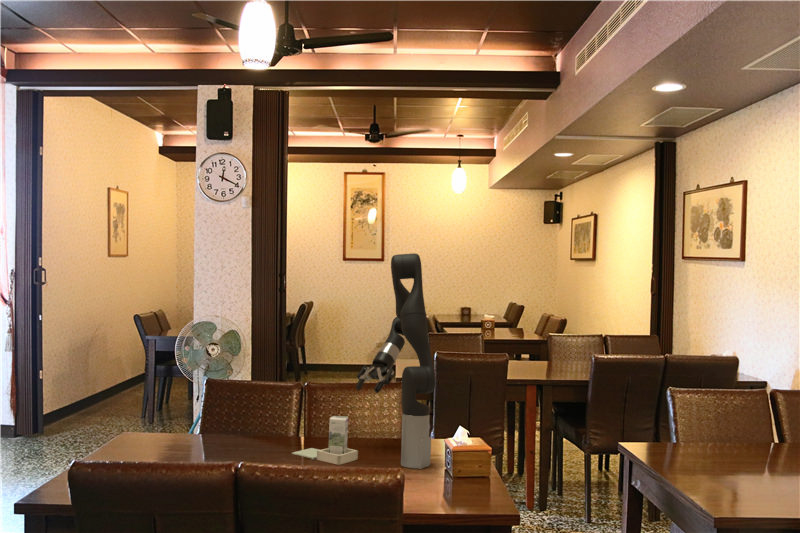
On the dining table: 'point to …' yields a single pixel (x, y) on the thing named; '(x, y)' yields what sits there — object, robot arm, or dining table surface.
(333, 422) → the syrup box
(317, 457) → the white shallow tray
